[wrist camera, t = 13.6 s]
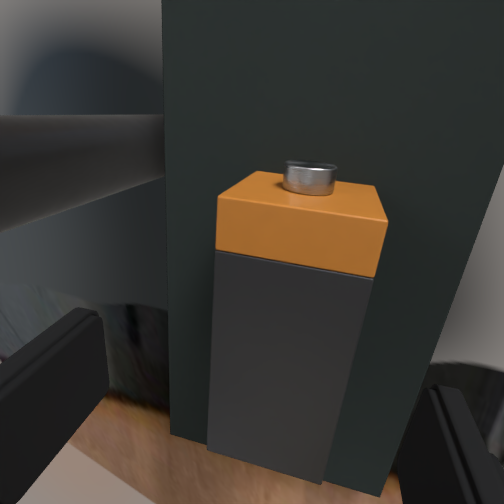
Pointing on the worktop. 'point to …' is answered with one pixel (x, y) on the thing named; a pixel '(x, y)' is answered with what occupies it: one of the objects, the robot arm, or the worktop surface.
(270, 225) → the battery
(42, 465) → the robot arm
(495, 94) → the mat
